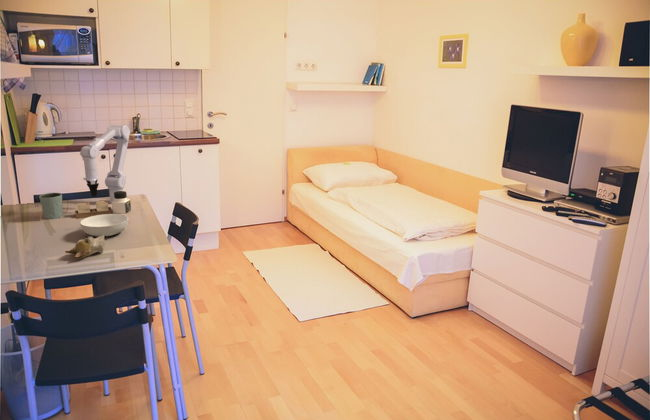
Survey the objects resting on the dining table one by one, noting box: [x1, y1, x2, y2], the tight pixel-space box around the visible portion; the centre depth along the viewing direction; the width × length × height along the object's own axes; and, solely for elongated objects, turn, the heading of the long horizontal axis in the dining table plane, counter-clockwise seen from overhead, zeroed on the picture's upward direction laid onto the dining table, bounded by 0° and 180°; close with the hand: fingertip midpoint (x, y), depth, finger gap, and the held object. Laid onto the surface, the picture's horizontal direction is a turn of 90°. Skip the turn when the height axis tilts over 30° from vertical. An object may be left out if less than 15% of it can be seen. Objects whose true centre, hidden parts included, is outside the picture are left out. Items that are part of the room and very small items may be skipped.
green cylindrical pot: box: [38, 192, 64, 220], centre depth 261 cm, size 10×10×12 cm
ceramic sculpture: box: [64, 235, 106, 259], centre depth 214 cm, size 11×9×15 cm
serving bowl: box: [79, 213, 130, 238], centre depth 240 cm, size 21×21×7 cm
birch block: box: [76, 202, 91, 214], centre depth 264 cm, size 4×6×6 cm
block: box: [95, 200, 109, 212], centre depth 268 cm, size 4×6×6 cm
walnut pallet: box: [74, 206, 113, 220], centre depth 267 cm, size 10×17×3 cm, turn 117°
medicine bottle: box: [111, 190, 132, 215], centre depth 271 cm, size 7×7×12 cm
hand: (93, 194), depth 272 cm, fingers open, 7 cm apart
